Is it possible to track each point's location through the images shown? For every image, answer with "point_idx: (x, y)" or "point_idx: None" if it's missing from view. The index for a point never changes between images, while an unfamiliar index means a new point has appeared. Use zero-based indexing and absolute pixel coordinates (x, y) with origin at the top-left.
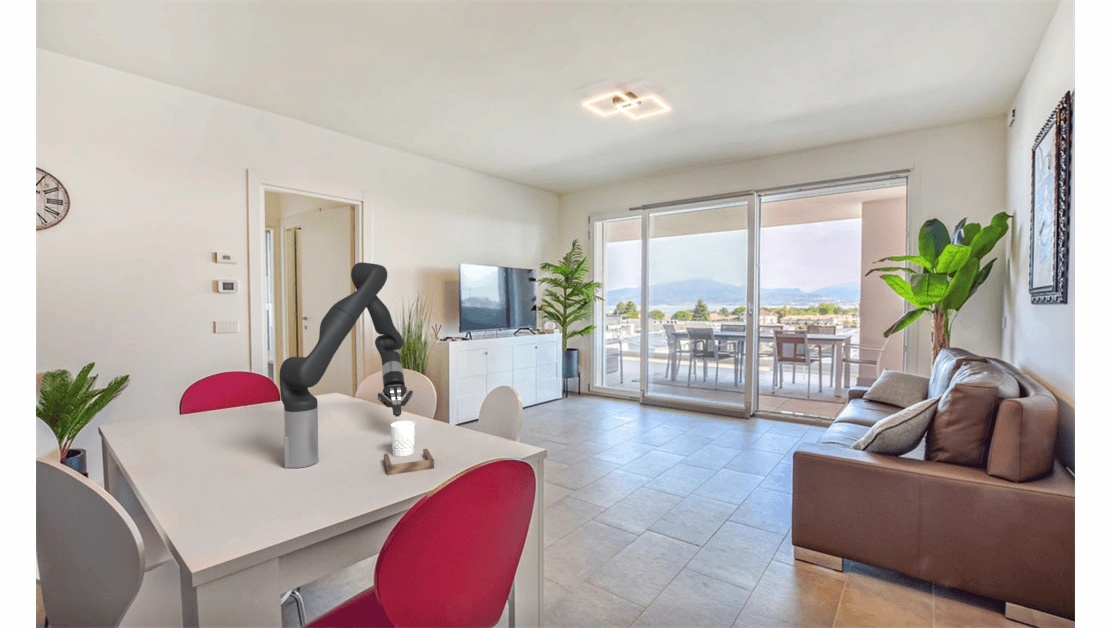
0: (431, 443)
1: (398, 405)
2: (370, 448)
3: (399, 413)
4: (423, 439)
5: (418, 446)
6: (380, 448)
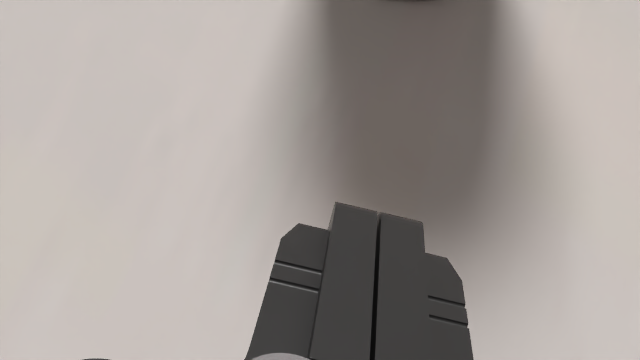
0: (80, 28)
1: (324, 347)
2: (622, 235)
3: (341, 205)
4: (73, 201)
5: (222, 19)
6: (539, 176)
